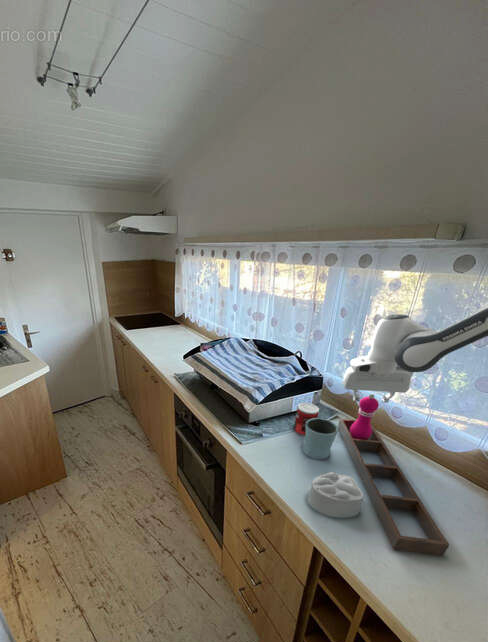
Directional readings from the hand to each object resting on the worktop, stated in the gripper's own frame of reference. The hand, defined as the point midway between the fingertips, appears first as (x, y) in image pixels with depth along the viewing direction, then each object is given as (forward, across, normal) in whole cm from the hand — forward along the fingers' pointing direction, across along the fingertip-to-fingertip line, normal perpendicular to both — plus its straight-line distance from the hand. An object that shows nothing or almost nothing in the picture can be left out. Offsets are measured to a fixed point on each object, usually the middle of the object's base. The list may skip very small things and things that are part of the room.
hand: (370, 401), depth 108 cm
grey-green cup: (+17, +17, +10) cm, 27 cm away
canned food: (+17, +19, -4) cm, 26 cm away
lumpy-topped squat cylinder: (+18, +17, +34) cm, 42 cm away
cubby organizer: (+17, 0, +20) cm, 27 cm away
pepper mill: (+18, 0, 0) cm, 18 cm away
